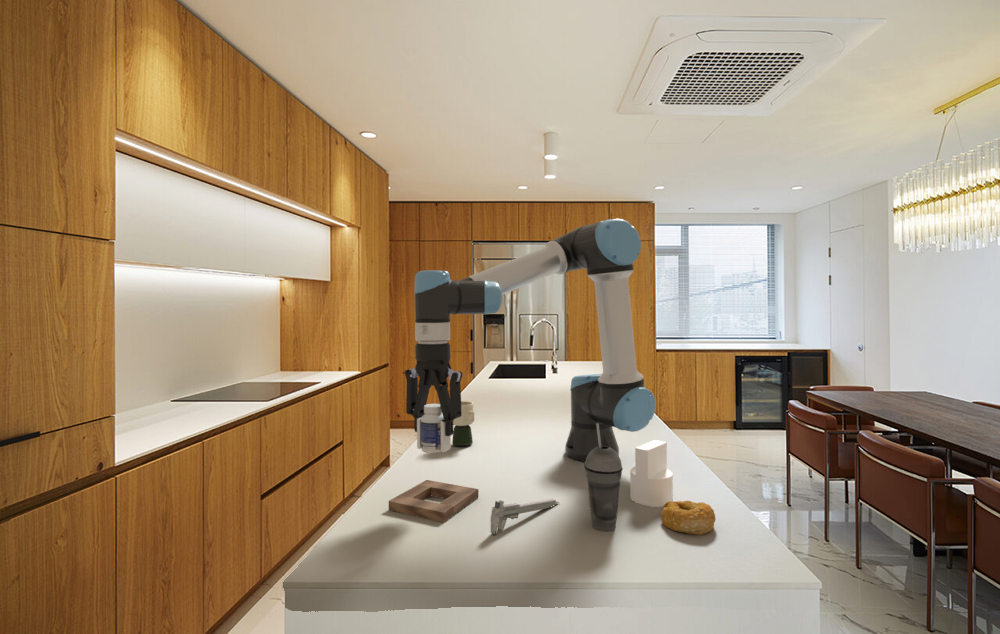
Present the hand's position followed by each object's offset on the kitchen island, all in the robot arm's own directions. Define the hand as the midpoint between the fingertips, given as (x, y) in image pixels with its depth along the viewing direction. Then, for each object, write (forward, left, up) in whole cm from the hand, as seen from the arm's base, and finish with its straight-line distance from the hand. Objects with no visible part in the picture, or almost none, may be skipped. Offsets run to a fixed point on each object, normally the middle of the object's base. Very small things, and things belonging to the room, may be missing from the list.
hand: (433, 448), depth 108 cm
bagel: (-51, -13, -13) cm, 54 cm away
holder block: (0, 0, -12) cm, 12 cm away
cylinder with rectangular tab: (-42, -23, -13) cm, 50 cm away
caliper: (-21, -2, -13) cm, 25 cm away
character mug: (+18, -42, -12) cm, 47 cm away
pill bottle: (0, 0, -1) cm, 1 cm away
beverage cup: (-36, -5, -12) cm, 38 cm away
